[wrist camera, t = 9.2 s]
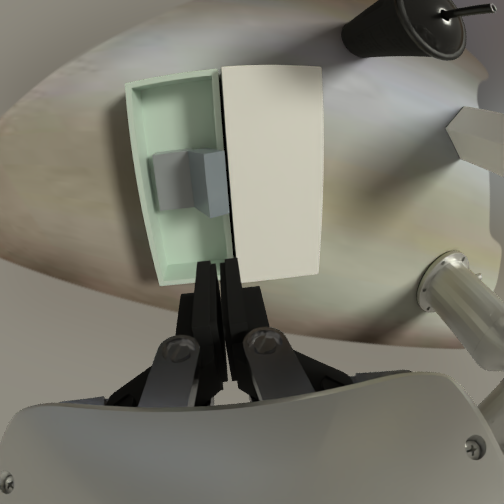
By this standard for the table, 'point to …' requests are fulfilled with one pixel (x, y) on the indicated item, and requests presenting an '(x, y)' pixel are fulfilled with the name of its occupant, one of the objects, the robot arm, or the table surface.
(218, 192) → the slate tile
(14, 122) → the table surface
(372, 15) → the drinking cup
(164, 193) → the slate tile
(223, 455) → the robot arm
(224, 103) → the cream rectangular block
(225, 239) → the box
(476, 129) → the milk
